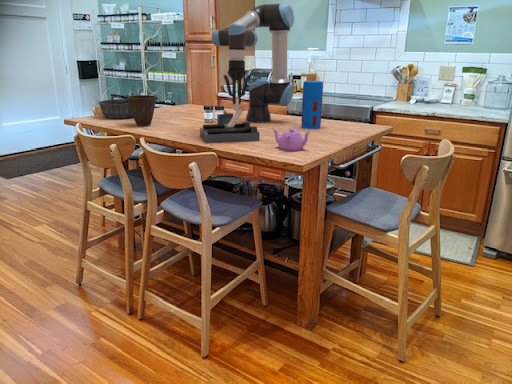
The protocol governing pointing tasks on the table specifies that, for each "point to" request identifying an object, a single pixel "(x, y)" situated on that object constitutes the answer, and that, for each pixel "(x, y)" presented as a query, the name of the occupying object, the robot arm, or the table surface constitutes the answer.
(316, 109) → the thermos
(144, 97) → the plant pot
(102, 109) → the bundt pan
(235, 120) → the lever
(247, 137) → the tray
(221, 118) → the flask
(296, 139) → the teapot
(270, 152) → the table surface
